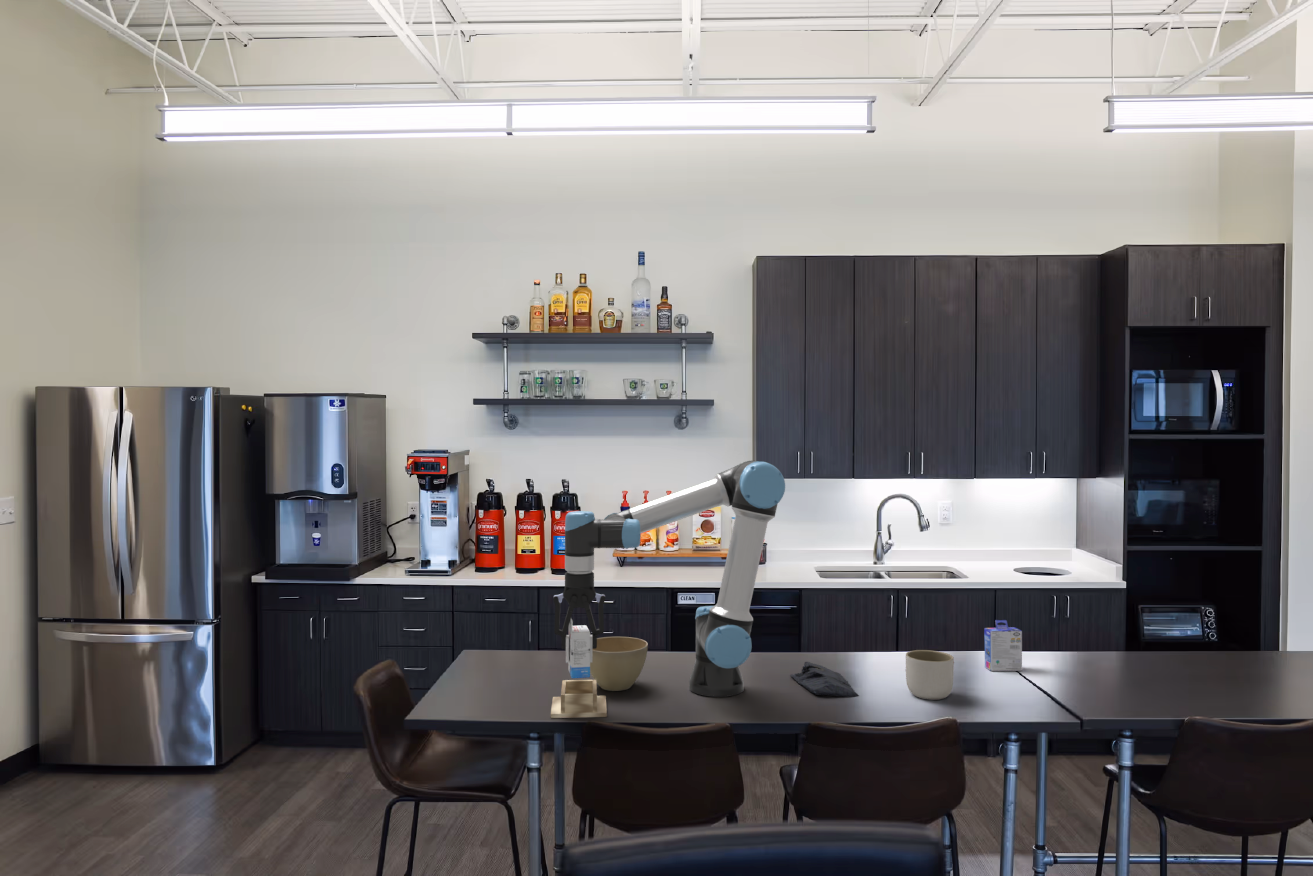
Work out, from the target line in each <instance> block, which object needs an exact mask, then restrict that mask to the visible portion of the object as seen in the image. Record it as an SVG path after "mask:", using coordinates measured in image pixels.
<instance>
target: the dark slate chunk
mask: <svg viewBox="0 0 1313 876" xmlns="http://www.w3.org/2000/svg"><path fill="white" fill-rule="evenodd" d="M790 677H791V678H792V679H793V680H795V683H797V684H799V685H800V686H803V688H805V689H806V690H808V691H809V692H810V693H811V694H813V695H816V696H832V697H833V696H834V697H843V698H844V697H847V698H852V697H859V696H860V695H859V694H858V693H857V692H856V691H855V690H854V688H853V687H852V685H851V684H850V683H849V681H848V680H847V679H846V678H845V677H844V676H843V675H842V674H841V673H839V672H837V671H834V670H831V669H828V668H827V667H826V666H823V665H821V664H817V663H813V662H810V661H804V663H803V666H802V668H801V672H797V673H792V674H790Z"/></svg>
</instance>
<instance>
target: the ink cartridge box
mask: <svg viewBox="0 0 1313 876" xmlns="http://www.w3.org/2000/svg"><path fill="white" fill-rule="evenodd" d="M994 622H995V623H994V624H995V627H984V631H983V632H984V633H983V634H984V635H983V636H984V637H983V638H984V668H986V669H987V670H989V671H991V672H998V671H999V672H1001V671H1002V672H1006V671H1007V672H1008V671H1009V672H1010V671H1011V672H1013V671H1014V672H1018V671H1020V672H1022V671H1023V630H1021V629H1019V628H1017V627H1013V626H1012V627H1011V626H1010V627H1009V625H1008V621H1007V620H1006V619H1002V620H999V619H995V621H994ZM999 623H1001V624H999ZM1002 623H1003V624H1002Z"/></svg>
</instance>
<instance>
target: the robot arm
mask: <svg viewBox="0 0 1313 876" xmlns="http://www.w3.org/2000/svg"><path fill="white" fill-rule="evenodd" d="M785 492H786V481H785V478H784V476H783V474H782V472H781V471H780V469H779V468H777V467H776V466H775V465H774V464H771V462H770V463H769V462H766V461H760V460H759V461H758V460H747V461H743V462H742V463H741V462H740V463H739V464H737V465H734V466H733V467H731V468H728V469H726V470H723V471H721V472H718V473H716V474H715V475H714V478H712V479H710V480H707V481H704V482H701V483H698V484H695V485H693V486H690V487H687V488H684V489H681V490H679V491H676V492H673V493H670V494H667V495H665V496H661V497H659V498H655V499H653V500H650V501H647V502H645V503H642V504H639V505H636V506H633V507H631V508H628V509H624V510H623V511H620V512H612V513H610V514H608V515H606V516H605V517H604V519H601V518H596V517H595V513H594V512H593V511H588V510H586V511H585V510H575V511H569V512H567V513H566V515H565V518H564V522H565V523H564V570H565V571H566V572H565V573H564V590H563V591H562V593H560V594H554V595H553V597H552V599H553V603H554V606H555V607H554V635H555V636H556V635H557V636H560V638H561V639H560V643H561V650H565V664H568V663H569V634H567V633H568V631H569V623H570V624H571V622H570V620H571V618H572V615H573V613H574V610H575V609H578V608H581V609H584V610H585V614H586V616H587V617H586V618H587V619H588V623H589V624H588V625H589V628H590V631H591V632H590V633H591V634H590V662H592V649H596V648H597V638H598V637H599V635H603V634H604V633H605V627H604V626H605V623H604V622H605V621H604V620H605V619H604V618H605V617H604V604H605V601H606V595H605V594H604V593H601V594H600V593H597V592H596V589H595V573H594V572H593V571H594V570H595V549H626V550H628V549H636V548H639V547H640V545H641V534H643V533H646V532H649V531H652V530H656V529H658V528H660V527H663V526H665V525H669V524H672V523H675V522H678V521H680V520H683V519H686V518H690V517H692V516H695V515H697V514H700V513H703V512H705V511H709V510H711V509H715V508H718V507H720V506H722V505H723V506H725V507H731V509H732V511H733V512H734V515H735V517H734V522H733V527H732V531H731V536H730V540H729V546H728V550H727V555H726V560H725V564H724V570H723V574H722V579H721V582H720V589H719V593H718V597H717V603H716V604H715V605H705V606H699V607H697V609H696V611H695V617H694V619H695V662H694V665H693V668H692V671H691V673H690V678H689V681H688V683H689V686H688V689H689V690H690V691H691V692H692V693H695V694H696V695H700V696H704V697H717V698H718V697H719V698H720V697H721V698H722V697H723V698H725V697H732V696H737V695H740V694H741V693H742V692H744V690H745V683H744V679H743V675H742V672H741V668H740V666H741V665H743V664H745V662H746V661H747V660H748V659H749V657H750V656H751V652H752V648H753V647H752V638H751V632H752V626H753V623H754V617H753V615H752V614H751V612H750V607H751V603H752V598H753V595H754V590H755V585H756V580H757V574H758V570H759V566H760V560H761V556H762V552H763V545H764V542H765V537H766V533H767V532H766V531H767V528H768V523H769V521H771V520H773V519H774V518H775V517H776V514H777V509H778V504H779V503H780V502H781V501H782V499H783V497H784V495H785ZM563 599H565V601H566V602H567V603H568V605H569V606H568V609H567V611H566V616H565V619H564V623H563V627H562V629H560V627H561V626H560V624H561V623H560V622H561V621H560V620H561V603H562V602H563ZM594 599H595V600H596V603H598V606H597V607H598V628H597V626H596V625H595V620H594V617H593V613H592V609H591V605H590V604H591V603H592V601H593V600H594Z"/></svg>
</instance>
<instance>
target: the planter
mask: <svg viewBox="0 0 1313 876" xmlns="http://www.w3.org/2000/svg"><path fill="white" fill-rule="evenodd" d="M954 662H955V660H954V656H953V655H951V654H949V653H946V652H943V651H938V650H929V649H916V650H910V651H907V652H906V653H905V681H906V686H907V688H908V690H909V692H910V693H911V694H912V695H913V696H915V697H917V698H918V699H919V698H920V699H925V700H931V701H933V700H934V701H936V700H937V701H938V700H939V701H940V700H944V699H946V698H947V697H948V696H949V695H950V694H951V693H952V690H953V685H954V674H955V673H954V672H955V671H954V669H955V667H954V665H955V663H954Z"/></svg>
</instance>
